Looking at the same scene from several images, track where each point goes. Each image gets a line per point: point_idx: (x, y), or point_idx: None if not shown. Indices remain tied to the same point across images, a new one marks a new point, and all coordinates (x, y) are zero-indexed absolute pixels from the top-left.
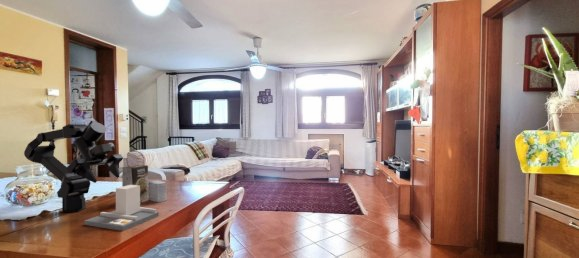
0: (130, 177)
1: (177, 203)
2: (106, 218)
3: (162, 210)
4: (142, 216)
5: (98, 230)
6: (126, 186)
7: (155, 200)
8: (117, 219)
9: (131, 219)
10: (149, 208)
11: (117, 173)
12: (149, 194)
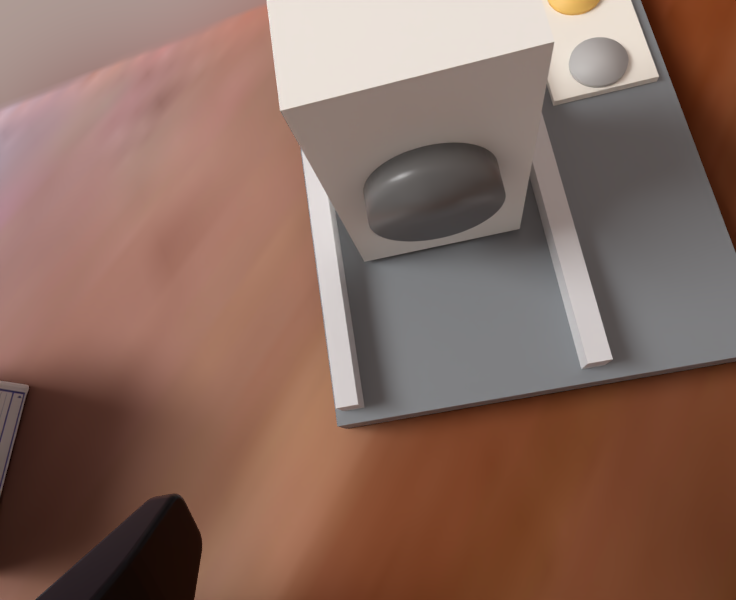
0: None
1: (6, 209)
2: (608, 226)
3: (188, 147)
4: None
5: (721, 117)
6: (389, 32)
7: (8, 430)
8: (584, 81)
9: None
10: None
11: (126, 562)
12: None
